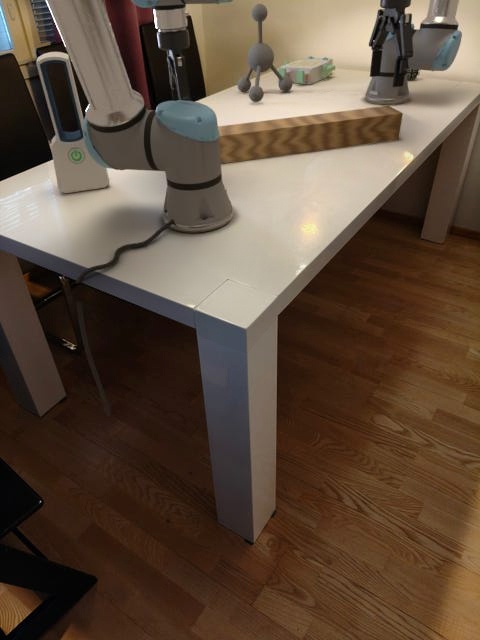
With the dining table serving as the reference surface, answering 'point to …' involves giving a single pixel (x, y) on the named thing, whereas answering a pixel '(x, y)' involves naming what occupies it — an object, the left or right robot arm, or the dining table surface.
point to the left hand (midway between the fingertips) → (183, 121)
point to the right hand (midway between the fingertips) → (385, 81)
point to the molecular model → (261, 61)
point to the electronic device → (70, 137)
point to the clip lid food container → (307, 70)
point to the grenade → (412, 74)
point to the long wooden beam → (308, 133)
